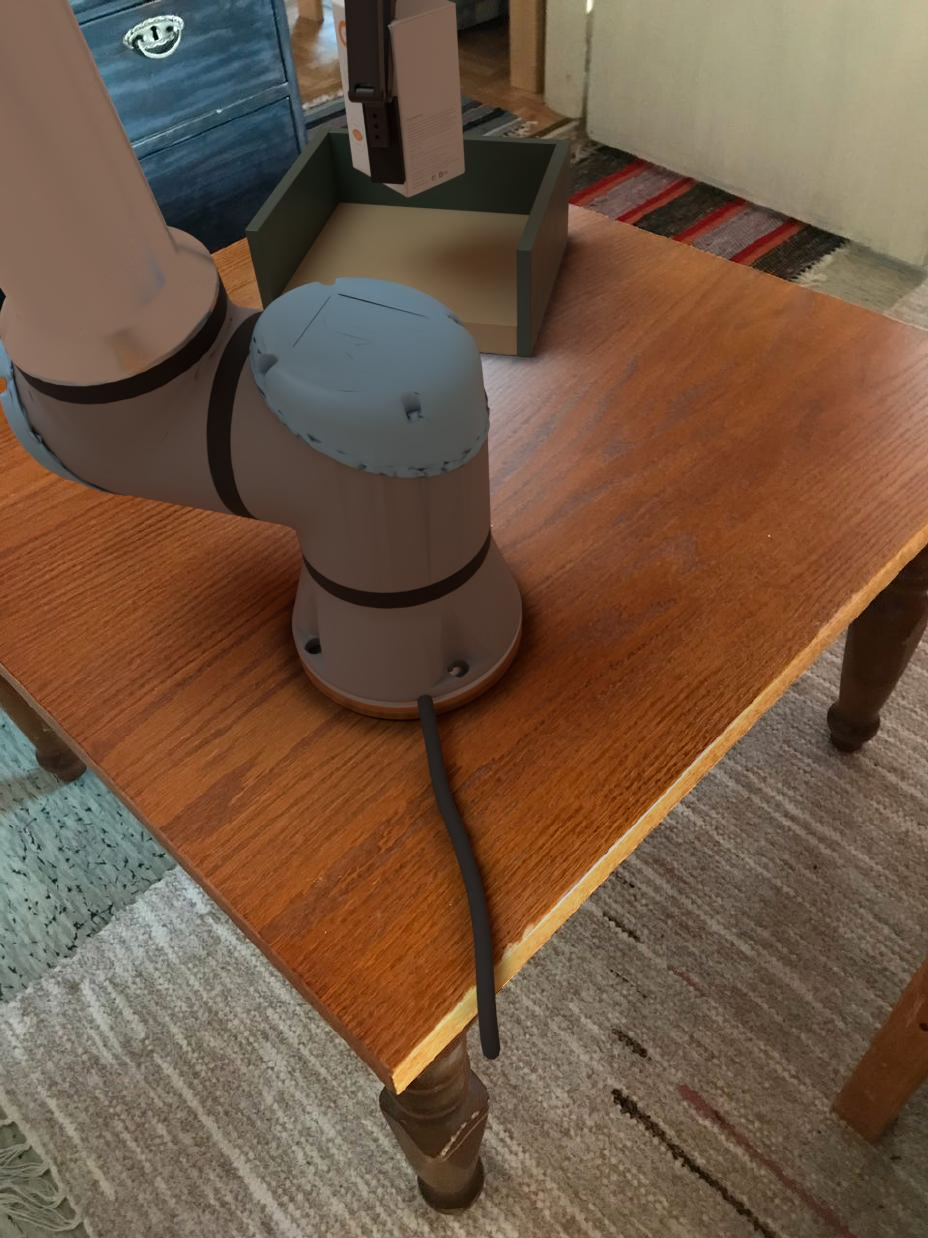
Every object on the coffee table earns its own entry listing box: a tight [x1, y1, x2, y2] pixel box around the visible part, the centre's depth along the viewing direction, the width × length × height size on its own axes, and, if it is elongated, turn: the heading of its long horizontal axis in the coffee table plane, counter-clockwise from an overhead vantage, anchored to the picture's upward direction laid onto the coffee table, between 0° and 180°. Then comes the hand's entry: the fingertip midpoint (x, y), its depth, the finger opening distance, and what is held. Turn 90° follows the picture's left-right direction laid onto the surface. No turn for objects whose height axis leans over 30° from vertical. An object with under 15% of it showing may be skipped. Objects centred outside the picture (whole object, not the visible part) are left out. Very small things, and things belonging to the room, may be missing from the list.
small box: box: [330, 0, 465, 197], centre depth 79 cm, size 8×6×13 cm
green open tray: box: [244, 126, 572, 358], centre depth 91 cm, size 20×25×10 cm
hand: (405, 152), depth 83 cm, fingers closed on small box, 10 cm apart
